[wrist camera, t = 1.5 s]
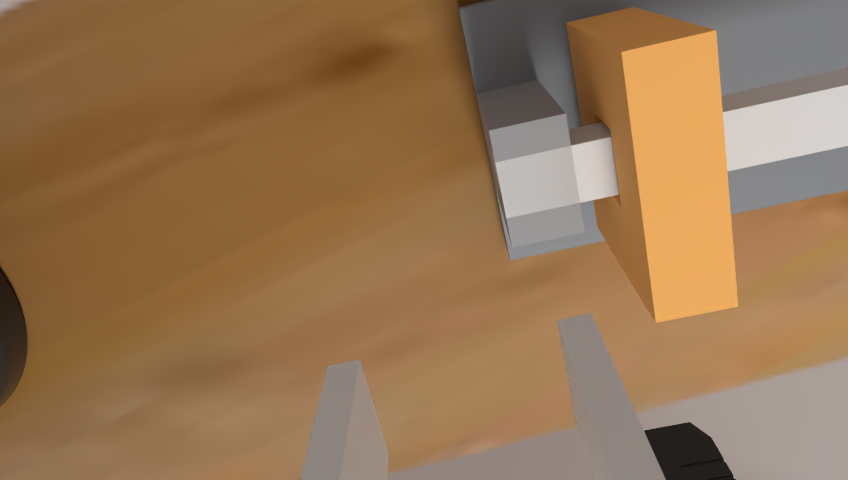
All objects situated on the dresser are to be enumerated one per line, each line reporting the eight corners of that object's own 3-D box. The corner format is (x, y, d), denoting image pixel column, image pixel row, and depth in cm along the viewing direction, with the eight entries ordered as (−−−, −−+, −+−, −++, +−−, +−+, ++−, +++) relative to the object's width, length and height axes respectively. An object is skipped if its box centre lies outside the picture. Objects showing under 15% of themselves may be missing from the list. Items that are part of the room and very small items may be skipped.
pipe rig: (507, 249, 40) (529, 332, 31) (457, 7, 35) (467, 25, 26) (1043, 137, 37) (1228, 193, 29) (1067, -140, 33) (1297, -172, 24)
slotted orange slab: (597, 226, 36) (655, 322, 27) (566, 22, 32) (621, 51, 23) (657, 214, 36) (738, 306, 27) (633, 6, 32) (716, 30, 23)
